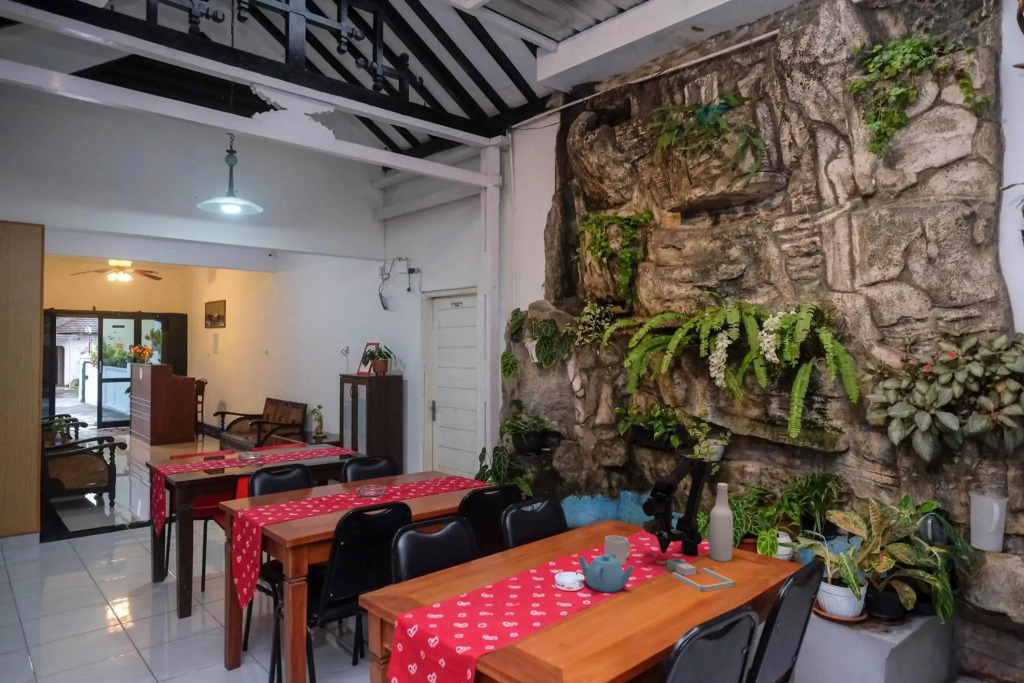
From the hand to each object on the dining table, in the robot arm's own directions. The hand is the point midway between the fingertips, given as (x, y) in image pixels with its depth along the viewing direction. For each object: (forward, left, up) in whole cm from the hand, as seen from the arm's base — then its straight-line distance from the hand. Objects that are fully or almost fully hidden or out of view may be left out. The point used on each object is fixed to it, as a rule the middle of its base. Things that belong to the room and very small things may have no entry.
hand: (663, 553), depth 240 cm
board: (+10, 0, -5) cm, 11 cm away
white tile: (+13, 0, -3) cm, 13 cm away
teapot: (+10, -33, -5) cm, 35 cm away
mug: (-6, -16, -5) cm, 18 cm away
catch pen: (+22, 0, -5) cm, 22 cm away
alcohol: (+2, +28, -5) cm, 28 cm away
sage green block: (+8, 0, -3) cm, 8 cm away
